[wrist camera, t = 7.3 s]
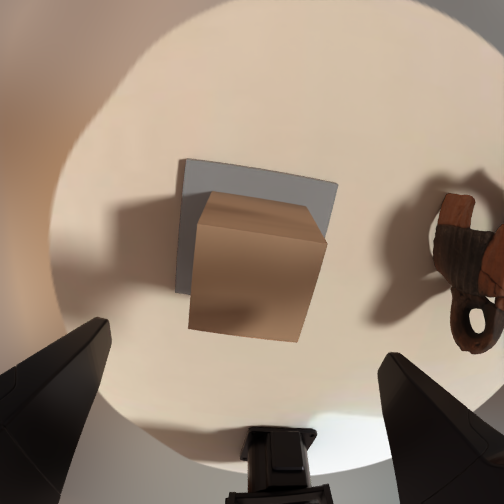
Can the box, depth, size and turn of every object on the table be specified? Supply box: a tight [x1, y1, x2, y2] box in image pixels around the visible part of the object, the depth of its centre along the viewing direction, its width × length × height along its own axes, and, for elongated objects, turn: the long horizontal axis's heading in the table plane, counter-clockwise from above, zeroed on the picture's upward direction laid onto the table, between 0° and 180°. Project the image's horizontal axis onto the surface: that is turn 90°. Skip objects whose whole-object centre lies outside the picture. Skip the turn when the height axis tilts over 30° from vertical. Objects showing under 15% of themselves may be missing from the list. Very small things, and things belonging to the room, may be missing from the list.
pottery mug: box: [433, 193, 504, 354], centre depth 16 cm, size 12×10×8 cm
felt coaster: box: [175, 158, 338, 295], centre depth 18 cm, size 8×8×1 cm
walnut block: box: [188, 191, 327, 342], centre depth 15 cm, size 5×5×5 cm
